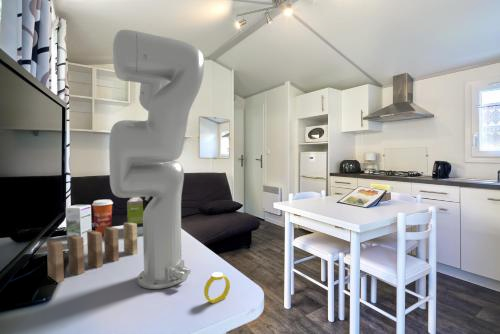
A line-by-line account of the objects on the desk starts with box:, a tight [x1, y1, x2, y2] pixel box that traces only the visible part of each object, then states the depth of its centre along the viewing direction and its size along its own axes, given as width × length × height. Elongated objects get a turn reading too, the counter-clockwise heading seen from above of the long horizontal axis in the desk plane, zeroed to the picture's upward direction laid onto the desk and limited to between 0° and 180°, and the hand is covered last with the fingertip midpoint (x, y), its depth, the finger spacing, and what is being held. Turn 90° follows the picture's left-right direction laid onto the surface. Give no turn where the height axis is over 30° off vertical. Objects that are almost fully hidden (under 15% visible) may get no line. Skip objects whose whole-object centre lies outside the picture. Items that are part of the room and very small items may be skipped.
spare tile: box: [122, 221, 139, 256], centre depth 85 cm, size 5×2×10 cm, turn 60°
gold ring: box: [203, 271, 231, 304], centre depth 56 cm, size 6×3×6 cm, turn 128°
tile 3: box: [67, 235, 86, 276], centre depth 70 cm, size 5×2×10 cm, turn 59°
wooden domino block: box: [46, 239, 65, 284], centre depth 66 cm, size 5×2×10 cm, turn 59°
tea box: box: [126, 197, 144, 237], centre depth 110 cm, size 15×10×15 cm
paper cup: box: [91, 199, 114, 236], centre depth 106 cm, size 8×8×14 cm
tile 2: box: [86, 229, 104, 269], centre depth 75 cm, size 5×2×10 cm, turn 59°
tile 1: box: [103, 226, 120, 263], centre depth 79 cm, size 5×2×10 cm, turn 59°
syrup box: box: [65, 204, 93, 247], centre depth 93 cm, size 6×6×14 cm
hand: (148, 210), depth 91 cm, fingers closed
